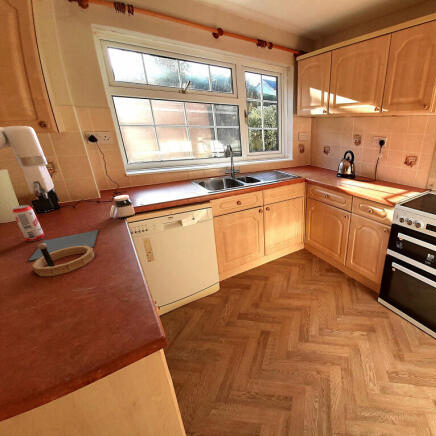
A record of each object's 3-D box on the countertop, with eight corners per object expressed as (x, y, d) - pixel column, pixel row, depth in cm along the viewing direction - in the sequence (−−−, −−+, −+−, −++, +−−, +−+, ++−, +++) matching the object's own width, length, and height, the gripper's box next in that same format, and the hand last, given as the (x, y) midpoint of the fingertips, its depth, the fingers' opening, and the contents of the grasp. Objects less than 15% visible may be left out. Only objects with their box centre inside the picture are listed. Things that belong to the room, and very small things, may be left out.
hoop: (29, 281, 82) (25, 274, 81) (44, 260, 95) (40, 253, 94) (91, 266, 90) (88, 259, 88) (96, 248, 103) (94, 241, 102)
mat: (29, 261, 94) (28, 260, 94) (44, 241, 110) (43, 240, 110) (93, 247, 103) (92, 246, 103) (98, 231, 119) (97, 230, 119)
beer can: (25, 243, 109) (8, 210, 103) (28, 238, 113) (12, 206, 107) (44, 239, 112) (29, 206, 106) (46, 235, 117) (32, 203, 111)
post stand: (48, 273, 86) (34, 245, 82) (50, 270, 88) (37, 242, 84) (57, 271, 87) (44, 243, 83) (59, 267, 89) (47, 240, 85)
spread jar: (137, 216, 136) (131, 196, 132) (113, 222, 129) (106, 201, 125) (131, 211, 145) (126, 192, 140) (109, 217, 137) (102, 197, 133)
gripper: (26, 159, 95) (44, 201, 102) (8, 165, 81) (31, 213, 88) (52, 158, 99) (67, 198, 105) (39, 163, 85) (58, 209, 91)
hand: (51, 205), depth 96 cm, fingers open, 9 cm apart
